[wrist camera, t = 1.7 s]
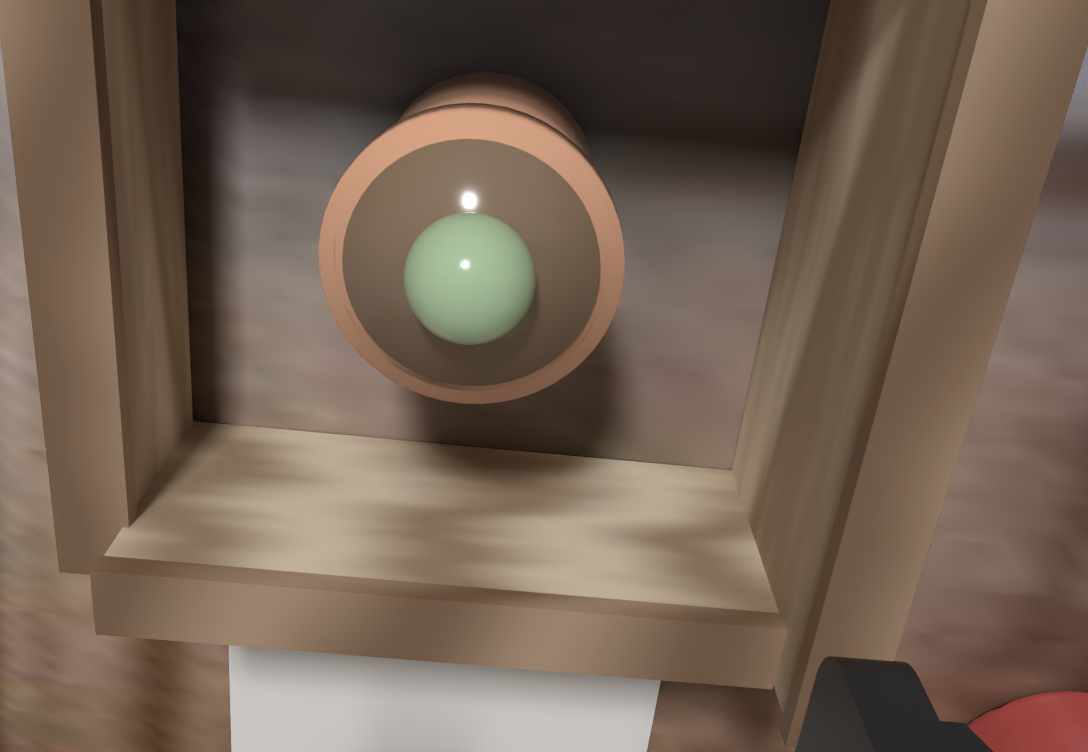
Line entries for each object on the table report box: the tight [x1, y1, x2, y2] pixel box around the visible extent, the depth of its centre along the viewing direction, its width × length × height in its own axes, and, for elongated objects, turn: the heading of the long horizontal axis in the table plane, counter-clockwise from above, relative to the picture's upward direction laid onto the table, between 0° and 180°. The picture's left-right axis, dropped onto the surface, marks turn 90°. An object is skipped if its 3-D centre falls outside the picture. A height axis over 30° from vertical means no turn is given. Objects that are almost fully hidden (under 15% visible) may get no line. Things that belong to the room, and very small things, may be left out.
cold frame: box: [0, 0, 1088, 747], centre depth 23 cm, size 19×19×10 cm
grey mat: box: [229, 645, 661, 752], centre depth 35 cm, size 14×14×1 cm
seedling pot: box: [319, 72, 625, 404], centre depth 23 cm, size 6×6×9 cm
